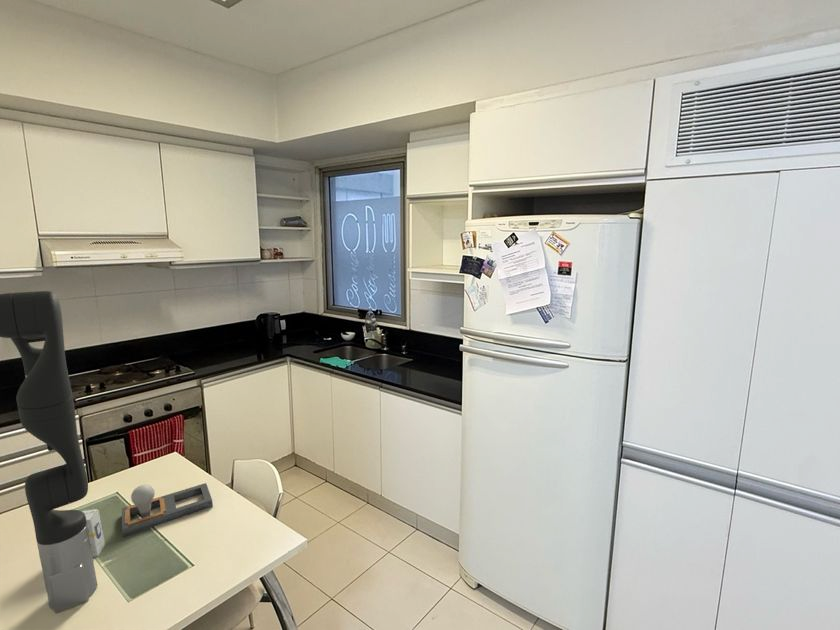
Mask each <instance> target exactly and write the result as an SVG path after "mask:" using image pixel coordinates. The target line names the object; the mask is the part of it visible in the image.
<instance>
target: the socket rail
mask: <svg viewBox="0 0 840 630" xmlns="http://www.w3.org/2000/svg"><path fill="white" fill-rule="evenodd" d="M200 495H201V497H202V499H200V500H198V501H194V502H191V503H187V504H185V505H181V506H179V507H177V506H176V503H178V502H180V501H181V502H182V501H184V500H188V499H191V498H193V497H197V496H200ZM213 507H214V504H213V497H212V496H211V493H210V489H209V487H208V484H207V482H204V483H202V484H198V485H195V486H192V487H188V488H185V489H182V490H179V491H175V492H171V493H168V494H165V495H162V496H159V497H155V498H153V500H152V502H151V510H150V511H153V510H157V509H159V508H160V511H159V512H157V513H155V514H151V515H150V516H147V517H144V518H141V517H140V518H138V519H136V520H135V519H134V520H133V521H132V517H134V516H137V515H141V514H140V512H139V509H138V507H137V506H136V505H135V504H132V505H129V506H128V505H127V506H126V507H122V508H121V531H122V537H123V538H125V537H127V536H130V535H133V534H136V533H140V532H143V531H145V530H148V529H151V528H154V527H157V526H160V525H163V524H165V523H169V522H172V521H175V520H179V519H181V518H184V517H187V516H190V515H192V514H193V515H194V514H196V513H200V512H202V511H205V510H208V509H211V508H213Z"/></svg>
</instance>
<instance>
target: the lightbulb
mask: <svg viewBox="0 0 840 630" xmlns="http://www.w3.org/2000/svg"><path fill="white" fill-rule="evenodd" d="M155 493H156V492H155V489H154V487H153V486H152V485H150V484H140V485H138V486H137V487H135V489H133V491H132V493H131V495H130V499H131V502H132V503H133V505H136V506H137V507H138V509H139V512H140V514H139V515H140V519H141V518H144V517H147V516H150V515H152V514H151V513H152V512H151V511H152V510H151V502H152V500H153V499H155V498H154V497H155Z"/></svg>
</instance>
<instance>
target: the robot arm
mask: <svg viewBox="0 0 840 630" xmlns="http://www.w3.org/2000/svg"><path fill="white" fill-rule="evenodd" d="M60 303H61V302H60V300H59V298H58V296H57V294H56V293H55V292H54V291H50V290H43V291H42V290H40V291H39V290H38V291H22V292H21V291H20V292H19V291H18V292H6V293H0V338H5V339H11V341H12V343H13V344H14V346H15V347H16V349H17V351H18V353H19V355H20V357H21V360H22V364H23V370H24V376H25V378H24V380H23V382H22V383H21V385H20V387H19V389H18V390H17V392H16V393H17V394H16V397H15V398H16V403H17V404H16V405H17V410H18V414H19V420H20V423H21V425H22V427H23V428H24V429H25V431H26V432H28V433H29V434H30V435H32V436H33V437H34V438H36V439H38V440H39V441H41V442H43V443H44V444H46V446H47V451H49V452H51V451H55V452H57V453H58V454H59V455H60V457H61V458H62V459H63V461H64V462H65V464H62V465H58V466H55V467H51V468H48V469H45V470H40V471H37V472H34V473H32V474H30V475H28V476H27V478H26V480H25V482H24V492H25V498H26V501H27V504H28V507H29V510H30V514H31V517H32V522H33V527H34V532H35V538H36V545H37V549H38V556H39V560H40V565H41V570H42V576H43V580H44V586H45V591H46V594H47V595H46V596H47V600H48V605H49V608H50V609H52V610H54V613H56V614H57V613H58V614H59V613H60V612H62V611H65V610H68V609H70V608H73V607H75V606H78V605H80V604H83V603H86V602H88V601H89V599H90V597H91V596H92V595H93V594H94V593H95V591H97V588H98V580H97V575H96V574H97V573H96V570H95V563H94V557H92V551H91V545H90V539H89V533H88V527H87V521H86V516H85V514H84V513H83V512H82V511H83V510H79V509H78V510H77V509H63V510H58V508H62V507H64V506H68V505H69V504H73V503H76V502H79V501H80V500H83V499H84V498H85V497H86V496H87V495H88V491H89V481H88V475H87V470H86V467H85V466H86V465H85V463H84V459H83V454H82V451H81V450H82V449H81V445H80V441H79V436H78V429H77V420H76V410H75V409H76V408H75V403H74V396H73V391H72V386H71V381H70V376H69V372H68V371H69V370H68V366H67V360H66V358H67V357H66V351H65V349H66V348H65V338H64V337H65V336H64V328H63V327H64V325H63V317H62V316H63V315H62V307H61V304H60ZM38 342H44V343H43V347H42V348H36V347H34V346H32V345H31V344H30V343H38Z"/></svg>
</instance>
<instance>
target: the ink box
mask: <svg viewBox="0 0 840 630" xmlns="http://www.w3.org/2000/svg"><path fill="white" fill-rule="evenodd" d="M81 511H82V512H83V513H84V514H85V516H86V521H87V527H88V533H89V539H90V545H91V551H92V557H93V558H95V557H99V555H100V554H101V552H102V551H103V549H104V548H105V545H106V542H105V536H104V532H103V527H102V521H101V517H100V510H99V509H96V508H95V509H87V510H81Z"/></svg>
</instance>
